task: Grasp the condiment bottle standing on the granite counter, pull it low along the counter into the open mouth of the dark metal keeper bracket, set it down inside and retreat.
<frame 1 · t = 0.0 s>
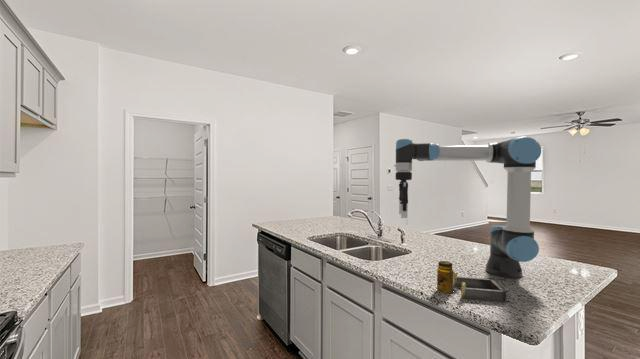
hand: (403, 216, 137), 28 cm above the worktop, fingers open, 13 cm apart
keeper: (477, 293, 116), on the worktop
condiment: (445, 291, 118), on the worktop
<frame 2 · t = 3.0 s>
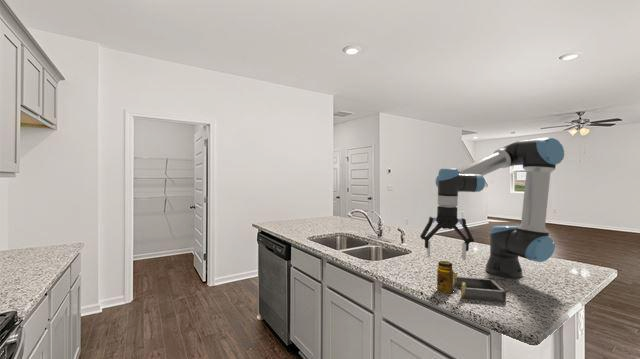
hand: (445, 257, 118), 14 cm above the worktop, fingers open, 13 cm apart
nothing on the worktop moved.
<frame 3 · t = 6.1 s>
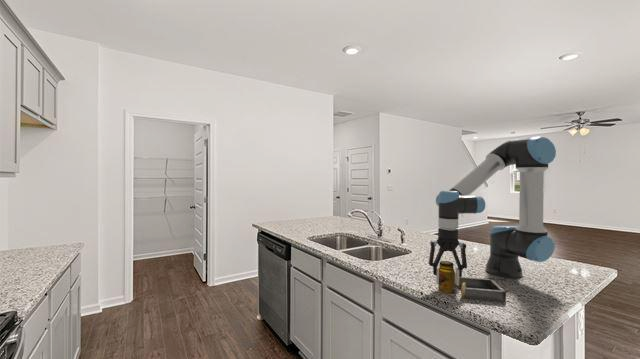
hand: (447, 283, 118), 3 cm above the worktop, fingers open, 7 cm apart
condiment: (447, 291, 118), on the worktop, touching gripper
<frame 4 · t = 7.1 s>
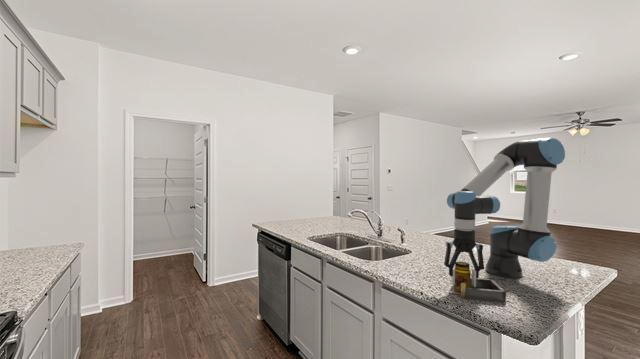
hand: (463, 284, 117), 3 cm above the worktop, fingers open, 7 cm apart
condiment: (461, 291, 118), on the worktop, touching gripper
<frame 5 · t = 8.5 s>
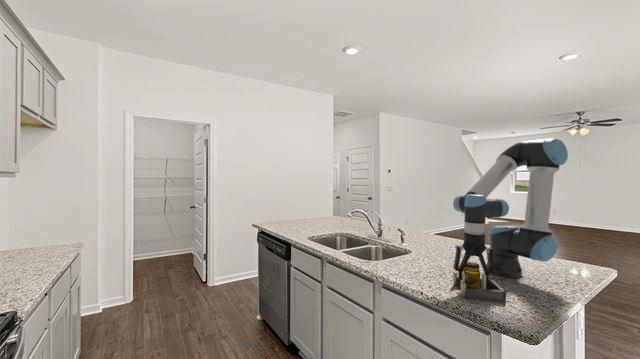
hand: (472, 288, 116), 2 cm above the worktop, fingers open, 7 cm apart
condiment: (471, 292, 117), on the worktop, touching gripper
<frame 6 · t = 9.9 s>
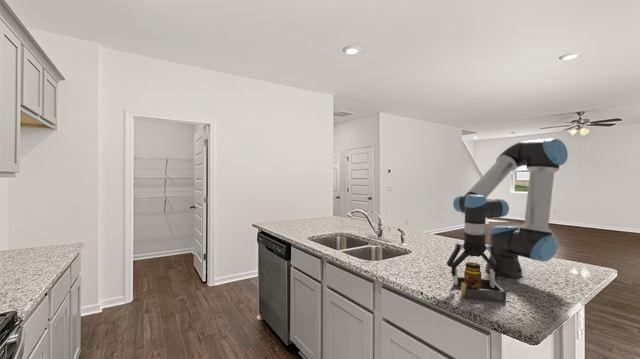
hand: (473, 285, 116), 3 cm above the worktop, fingers open, 13 cm apart
condiment: (472, 292, 117), on the worktop
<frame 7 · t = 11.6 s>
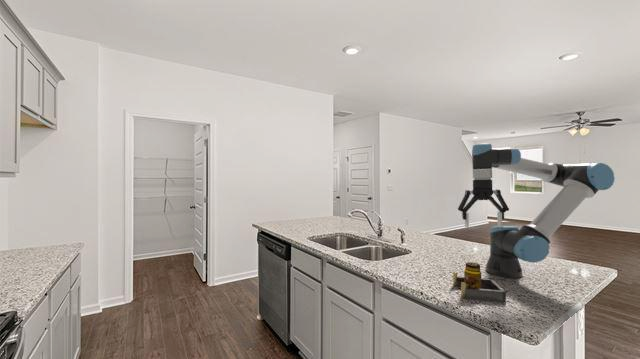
hand: (483, 226, 127), 25 cm above the worktop, fingers open, 13 cm apart
nothing on the worktop moved.
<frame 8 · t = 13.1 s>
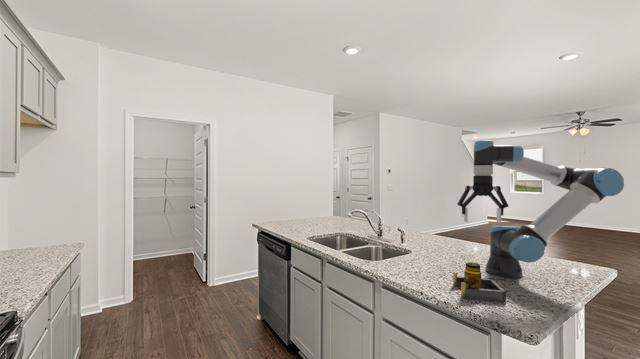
hand: (482, 222, 129), 27 cm above the worktop, fingers open, 13 cm apart
nothing on the worktop moved.
at the end: condiment inside the target area on the keeper (1.2 cm from its centre), point 0.0 cm above the keeper's base; condiment tilted 0°; the gripper is holding nothing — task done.
